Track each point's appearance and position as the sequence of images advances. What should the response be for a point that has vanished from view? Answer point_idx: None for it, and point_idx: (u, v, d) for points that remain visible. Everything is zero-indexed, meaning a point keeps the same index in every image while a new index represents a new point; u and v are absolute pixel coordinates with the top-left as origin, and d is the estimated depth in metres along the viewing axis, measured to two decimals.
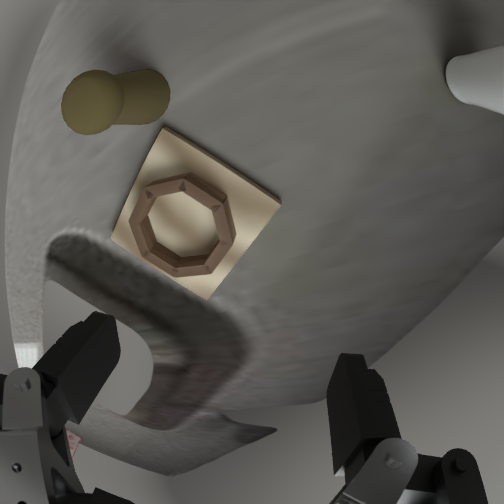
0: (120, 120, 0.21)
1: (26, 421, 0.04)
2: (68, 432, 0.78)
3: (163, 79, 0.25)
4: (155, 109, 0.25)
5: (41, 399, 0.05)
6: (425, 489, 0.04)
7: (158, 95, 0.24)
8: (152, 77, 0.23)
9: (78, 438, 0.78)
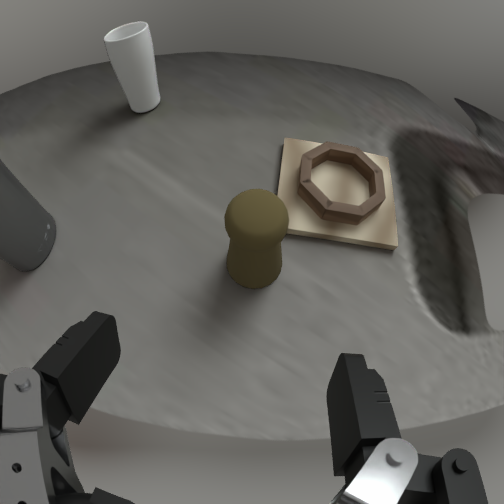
0: None
1: (26, 421, 0.04)
2: None
3: None
4: None
5: (41, 399, 0.05)
6: (425, 489, 0.04)
7: None
8: None
9: None
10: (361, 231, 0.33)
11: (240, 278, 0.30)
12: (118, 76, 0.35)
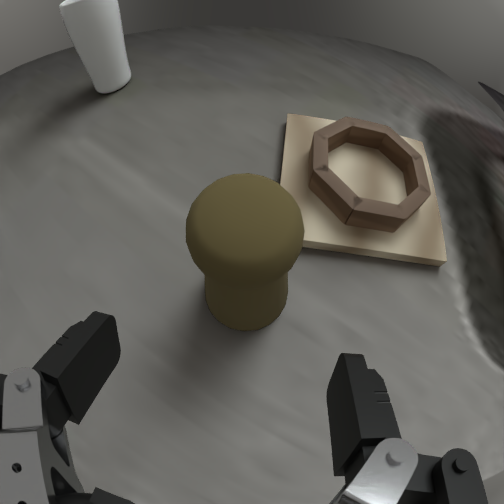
0: None
1: (26, 421, 0.04)
2: None
3: None
4: None
5: (41, 399, 0.05)
6: (425, 489, 0.04)
7: None
8: None
9: None
10: (399, 241, 0.22)
11: (224, 318, 0.19)
12: (76, 48, 0.24)
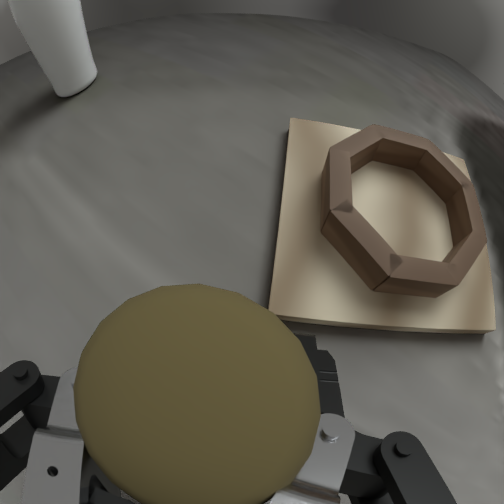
0: None
1: (75, 424, 0.05)
2: None
3: None
4: None
5: None
6: (365, 470, 0.05)
7: None
8: None
9: None
10: (443, 310, 0.14)
11: None
12: (28, 45, 0.17)
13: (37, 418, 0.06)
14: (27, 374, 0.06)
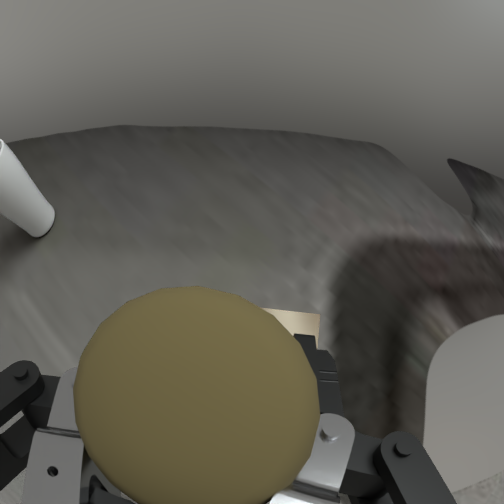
0: None
1: (75, 424, 0.05)
2: None
3: None
4: None
5: None
6: (365, 470, 0.05)
7: None
8: None
9: None
10: None
11: None
12: None
13: (37, 418, 0.06)
14: (27, 374, 0.06)
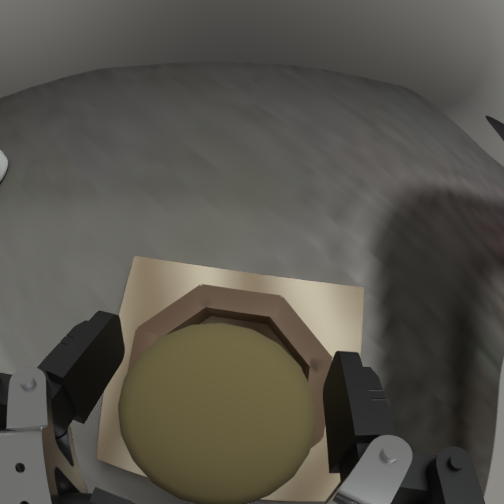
0: None
1: (31, 421, 0.05)
2: None
3: None
4: None
5: (47, 398, 0.05)
6: (420, 487, 0.04)
7: None
8: None
9: None
10: None
11: None
12: None
13: None
14: None
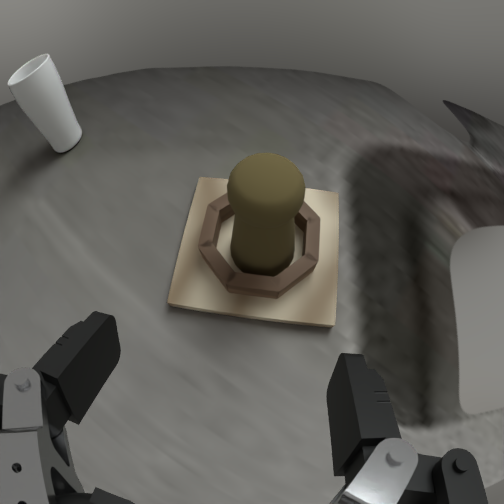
0: None
1: (26, 421, 0.04)
2: None
3: None
4: None
5: (41, 399, 0.05)
6: (425, 489, 0.04)
7: None
8: None
9: None
10: (282, 307, 0.26)
11: (247, 266, 0.26)
12: (29, 118, 0.28)
13: None
14: None
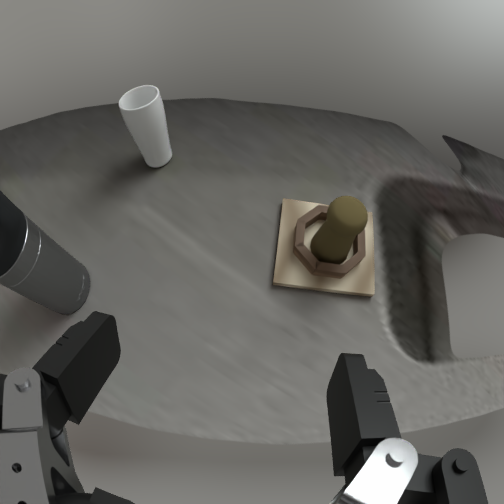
0: None
1: (26, 421, 0.04)
2: None
3: (313, 236, 0.44)
4: None
5: (41, 399, 0.05)
6: (425, 489, 0.04)
7: None
8: (315, 234, 0.42)
9: None
10: (344, 283, 0.42)
11: (324, 258, 0.41)
12: (134, 138, 0.44)
13: None
14: None
